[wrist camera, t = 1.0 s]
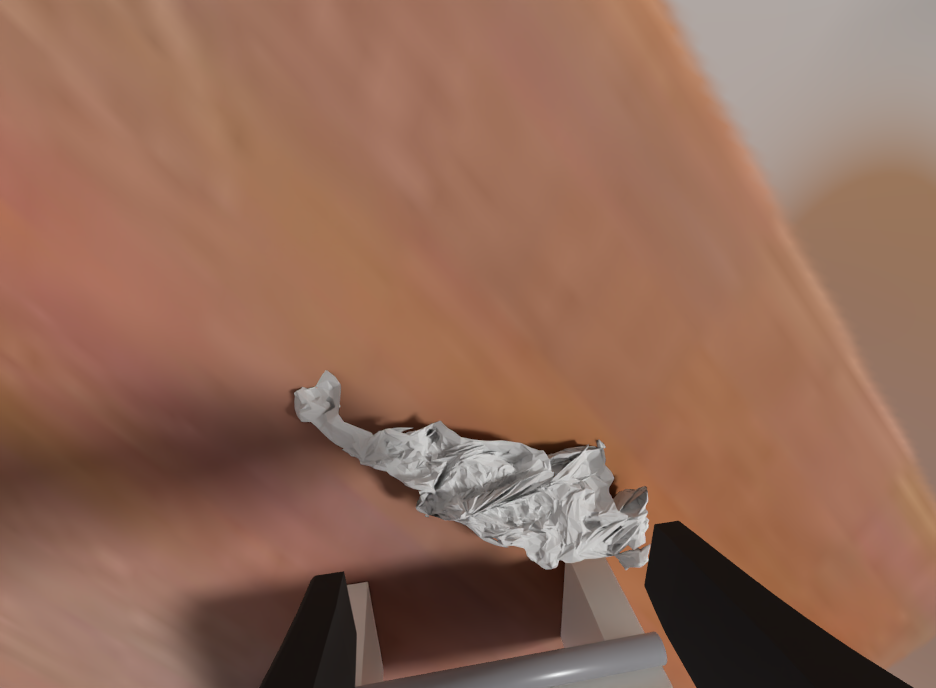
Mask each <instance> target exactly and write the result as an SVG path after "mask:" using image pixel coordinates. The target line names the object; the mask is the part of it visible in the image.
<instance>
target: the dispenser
mask: <svg viewBox="0 0 936 688" xmlns="http://www.w3.org/2000/svg"><path fill="white" fill-rule="evenodd" d="M347 589H348V593H349V598H350V603H351V608H352V613H353V617H354V622H355V627H356V632H357V648H356V677H355V688H673V686H672V684H671V682H670V681H669V679H668V677H667V675H666V673H665V671H664V669H663V667H662V666H663V665H666V663H667V655H666V651H665V647H664V645H663V642H662V640H661V638H660V637H659V635H658V634H657V633H656V632H650V633H644V631H643V629H642V627H641V625H640V623H639V621H638V619H637V617H636V615H635V613H634V612H633V610H632V608H631V606H630V604H629V602H628V600H627V598H626V596H625V594H624V592H623V590H622V589H621V587H620V585H619V583H618V581H617V579H616V577H615V575H614V573H613V571H612V569H611V567H610V566H609V564H608V562H607V560H606V558H605V557H602V558H596V559H584V560H582V561H579V562H574V563H565V574H564V590H563V606H562V622H561V639H562V642H563V645H564V648H563V649H557V650H552V651H546V652H541V653H535V654H530V655H525V656H519V657H514V658H508V659H503V660H497V661H492V662H486V663H481V664H476V665H470V666H465V667H459V668H454V669H448V670H443V671H438V672H432V673H427V674H421V675H416V676H410V677H405V678H399V679H394V680H389V681H383V664H382V658H381V652H380V647H379V641H378V636H377V630H376V625H375V619H374V614H373V608H372V602H371V597H370V591H369V586H368V582H363V583H357V584H350V585H347Z"/></svg>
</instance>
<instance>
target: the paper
mask: <svg viewBox="0 0 936 688" xmlns="http://www.w3.org/2000/svg"><path fill="white" fill-rule="evenodd" d="M316 387H317V388H316ZM340 394H341V385H340V383H339V382H338V380H337V379H336V377H335V376H334V375H332V374H331V373H330V372H328V371H327V370H326V371H325V372H324V373H323V375H322V376H321V378H320V380H319V381H318V383H317V385H316V386H315V387H313V388H309V389H308V388H304V387H302V388H301V389H299V390H297V391H296V392H295V393H294V395H295V402H294V404H295V411H296V414H297V416H298V418H299V419H300V420H301V422H312V423H313V424H314V425H315V426H316V427H317V428H318V429H319V430H320V431H321V432H322V433H323V434H324V435H325V436H326V437H327V438H328V439H330V440H331V441H332V442H333V443H335V444H336V445H338V446H340V447H342V448H344V449H342V450H343V451H345V452H347V453H349V454H350V456H353V457H357V458H358V459H359V460H360V464H362V465H366V466H371V467H373V468H374V469H378V470H382V471H386V472H388V473H389V475H391V476H393V477H395V478H397V479H398V480H400V481H401V482H403V483H404V484H405V486H408V487H410V488H413V489H417V490H422V491H419V493H420V497H419V498H420V500H418V501H417V505H416V509H417V510H418V511H419V512H422V513H425V514H427V515H428V516H427V515H425V517H429V515H432V516H435V517H438V518H441V519H443V520H454V521H456V522H459V523H462V524H464V525H466V526H467V527H469V528H470V529H471V530H473V531H474V533H475V534H476V535H478V536H479V537H480V538H481V539H483V540H484V541H486V542H489V543H491V544H494V545H497V546H501V547H507V546H517V547H521V548H524V549H525V550H526V553H527V557H529V558H530V560H531V561H534V562H536V563H537V564H538V565H540V566H541V567H542V568H544V569H546V570H547V569H553V568H556V567H557V566H558V563H559V560H562V561H563V562H565V563H574V562H579V561H582V560H584V559H596V558H602V557H609V556H615V557H616V558H618V559H619V562H620V563H621V564H622V566H623V567H624V568H625V570H627V569H628V568H629V567H641V566H643V565H644V564H645V563H647V562H648V561H649V560H648V553H649V549H650V545H647V546H645V547H643V548H642V549H639V548H637V547H639V546H640V545H642V544H644V543H645V538H646V537H645V532H646V530H647V529H648V527H649V525H648V522H649V520H648V518H645V517H646V515H647V513H648V512H647V510H646V509H645V507H646V504H647V502H648V491H647V487H646V486H644V487H641V488H638V489H636V490H633V489H625V490H624V491H619V492H618V494H617V495H616V496H615V497H614V499H612V497H611V495H610V493H609V487H610V485H611V483H612V482H613V480H614V477H613V474H612V472H611V471H610V470H609V469H608V468H607V467H606V466H605V461H606V459H605V454H604V449H603V448H606V447H605V445H604V444H603V443H602V442H601V441H600V440H598V441H597V446H598V448H596V447H594V446H589V444H588V445H586V446H577V447H573V448H566V449H564V450H561V451H559V452H556V453H554V454H549V455H548V456H547V454H546V453H545V452H544V450H537V449H534V448H531V447H529V446H526V445H524V444H522V443H517V442H510V441H503V440H498V441H482V440H473V439H468V438H463V437H460V436H459V435H458V434H456V433H455V432H454V431H452V430H450V429H448V428H447V427H446V426H445V425H444V424H443V423H442V422H441V421H438V422H436V423H432V424H430V425H428V426H426V427H424V428H422V429H419V430H416V431H410V432H407V433H401V432H402V431H404V430H408V429H412V428H389V429H385V430H382V431H378V432H377V433H375V434H374V435H372V433H371V432H368V431H366V430H363V429H361V428H358V427H356V426H353V425H351V424H348V423H346V422H344V421H343V420H342V418H341V417H340V416H339V414H338V412H339V408H340V407H341V406H340ZM552 471H553V472H552ZM554 472H555V477H554V478H553V476H554ZM492 538H496V539H497V540H498V541H499V542H498V541H496V540H494V539H492ZM627 545H629V546H630V547H631V548H632V550H628V551H625V552H622V553H619V552H620V551H621V550H623V549H624V548H625V547H626V546H627Z"/></svg>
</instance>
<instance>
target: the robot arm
mask: <svg viewBox="0 0 936 688" xmlns="http://www.w3.org/2000/svg"><path fill="white" fill-rule="evenodd" d="M644 586H645V588H646V590H647V593H648V595H649V597H650V600H651V602H652V604H653V607H654V609H655V611H656V614H657V616H658V618H659V620H660V622H661V625H662V627H663V629H664V631H665V633H666V635H667V637H668V638H669V640H670V642H671V644H672V646H673V647H674V649H675V651H676V653H677V654H678V656H679V658H680V660H681V661H682V663H683V665H684V667H685V668H686V670H687V672H688V674H689V675H690V677H691V679H692V680H693V682H694V684H695V686H696V687H697V688H913V687H912V686H910V685H908V684H907V683H905V682H903V681H902V680H900V679H899V678H897V677H895V676H894V675H892V674H891V673H889V672H887V671H886V670H884V669H883V668H881V667H879V666H878V665H876V664H875V663H873V662H872V661H870V660H868V659H867V658H865V657H864V656H862V655H860V654H859V653H857V652H856V651H854V650H853V649H851V648H850V647H848V646H847V645H845V644H844V643H842V642H841V641H839V640H838V639H836V638H835V637H833V636H832V635H830V634H829V633H828V632H826V631H825V630H823V629H822V628H820V627H819V626H817V625H816V624H815V623H813V622H812V621H810V620H809V619H807V618H806V617H804V616H803V615H802V614H800V613H799V612H797V611H796V610H795V609H793V608H792V607H791V606H789V605H788V604H786V603H785V602H784V601H782V600H781V599H780V598H778V597H777V596H775V595H774V594H773V593H771V592H770V591H769V590H767V589H766V588H765V587H763V586H762V585H761V584H759V583H758V582H757V581H755V580H754V579H753V578H752V577H750V576H749V575H748V574H746V573H745V572H744V571H742V570H741V569H740V568H739V567H737V566H736V565H735V564H733V563H732V562H731V561H730V560H728V559H727V558H726V557H724V556H723V555H722V554H721V553H719V552H718V551H717V550H716V549H714V548H713V547H712V546H710V545H709V544H708V543H707V542H705V541H704V540H703V539H702V538H700V537H699V536H698V535H696V534H695V533H694V532H693V531H691V530H690V529H689V528H687V527H686V526H685V525H683V524H682V523H681V522H680V521H674V522H667V523H661V524H655V525H654V531H653V537H652V543H651V549H650V555H649V561H648V567H647V573H646V579H645V585H644ZM356 648H357V632H356V627H355V622H354V617H353V613H352V608H351V603H350V598H349V593H348V589H347V584H346V579H345V574H344V572H337V573H331V574H324V575H317V576H315V577H314V578H313V579H312V580H311V581H310V584H309V586H308V588H307V591H306V593H305V596H304V598H303V600H302V602H301V605H300V607H299V609H298V611H297V614H296V616H295V618H294V620H293V622H292V624H291V626H290V628H289V631H288V633H287V635H286V637H285V639H284V641H283V643H282V645H281V647H280V649H279V651H278V653H277V655H276V657H275V659H274V660H273V662H272V664H271V666H270V668H269V670H268V672H267V674H266V676H265V678H264V680H263V682H262V684H261V685H260V687H259V688H355V677H356Z"/></svg>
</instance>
